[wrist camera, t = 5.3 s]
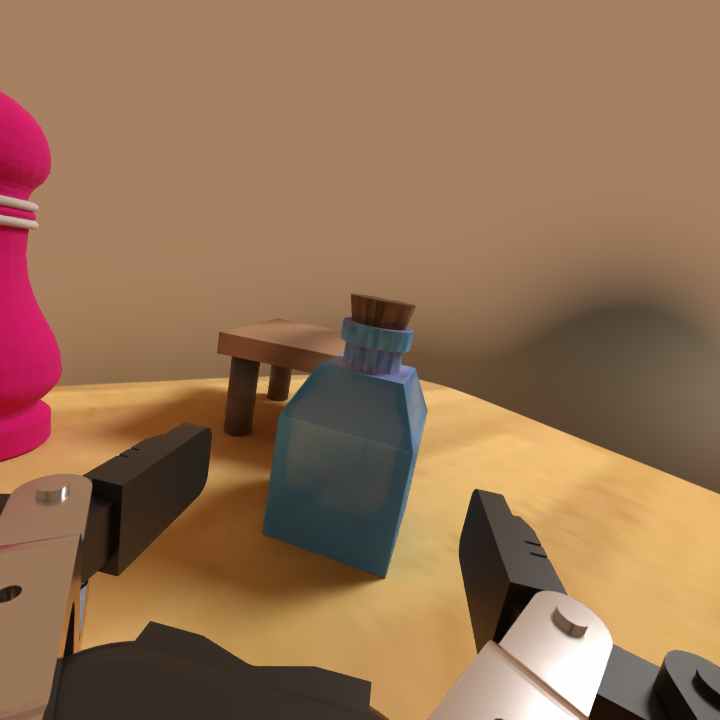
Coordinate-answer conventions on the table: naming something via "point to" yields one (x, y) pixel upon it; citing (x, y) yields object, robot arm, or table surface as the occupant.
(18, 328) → the pepper mill
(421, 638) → the table surface
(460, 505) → the table surface
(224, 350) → the brown legged piece
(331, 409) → the perfume bottle
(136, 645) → the robot arm
